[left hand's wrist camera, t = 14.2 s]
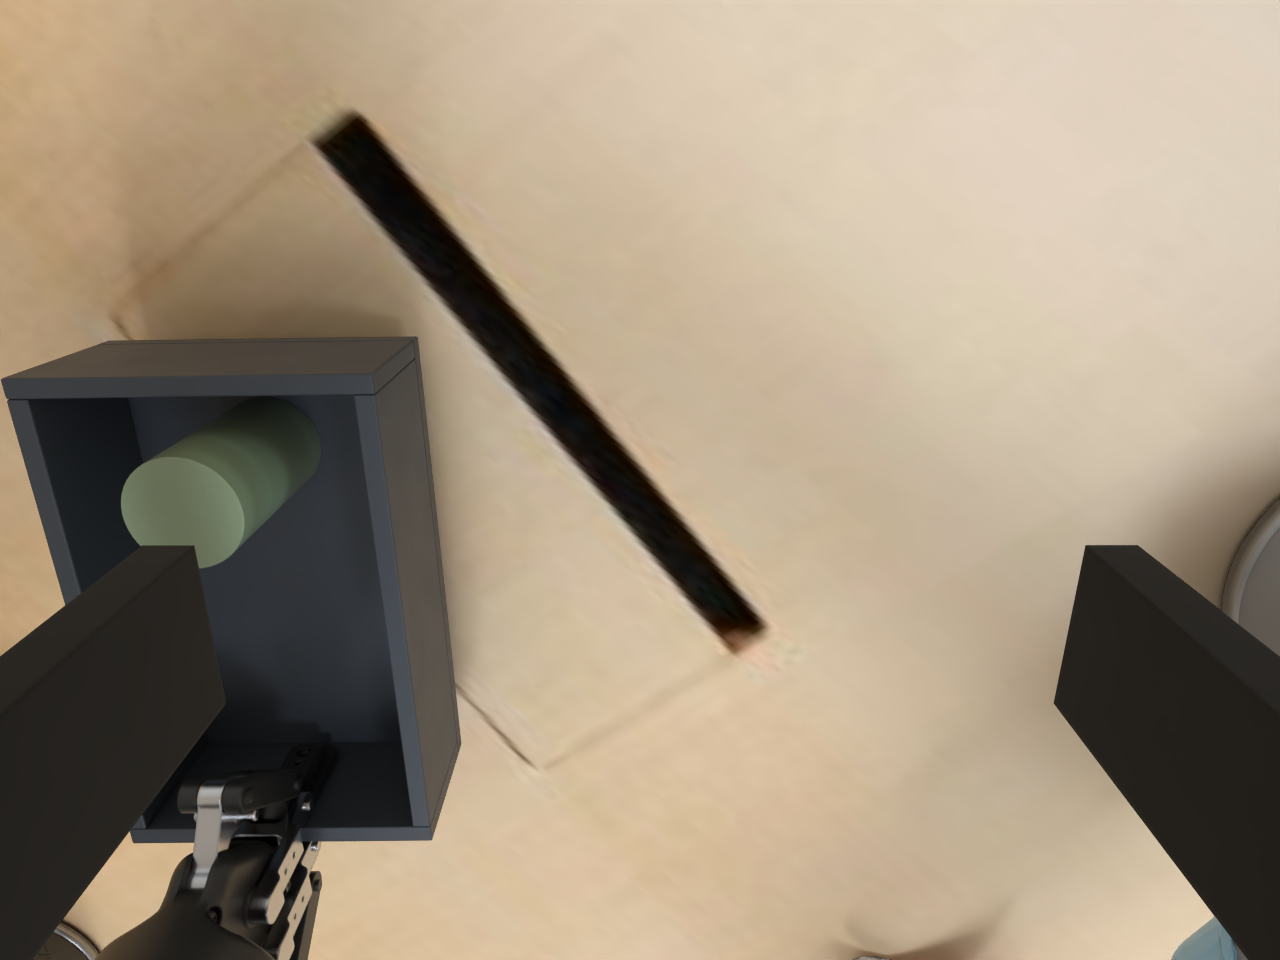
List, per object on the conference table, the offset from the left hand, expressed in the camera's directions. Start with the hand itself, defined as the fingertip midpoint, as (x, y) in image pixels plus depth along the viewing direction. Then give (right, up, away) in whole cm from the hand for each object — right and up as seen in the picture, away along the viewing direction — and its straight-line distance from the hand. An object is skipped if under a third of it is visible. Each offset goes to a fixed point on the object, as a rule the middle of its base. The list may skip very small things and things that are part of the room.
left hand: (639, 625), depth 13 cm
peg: (-16, +4, +26) cm, 31 cm away
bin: (-16, -2, +28) cm, 33 cm away
